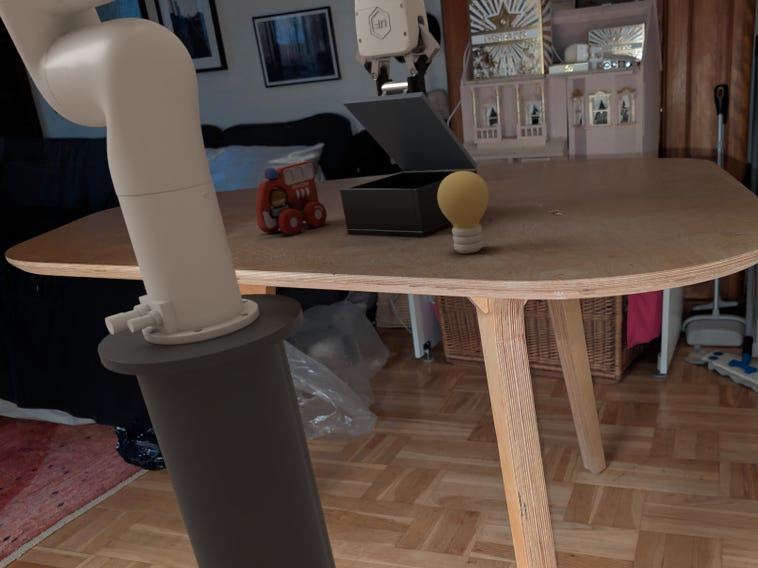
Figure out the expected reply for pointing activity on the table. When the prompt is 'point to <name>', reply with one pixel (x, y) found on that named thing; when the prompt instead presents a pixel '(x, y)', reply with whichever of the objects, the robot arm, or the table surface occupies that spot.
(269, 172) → the toy fire truck
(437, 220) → the compartment
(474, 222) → the light bulb
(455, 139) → the lid
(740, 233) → the table surface
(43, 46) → the robot arm
